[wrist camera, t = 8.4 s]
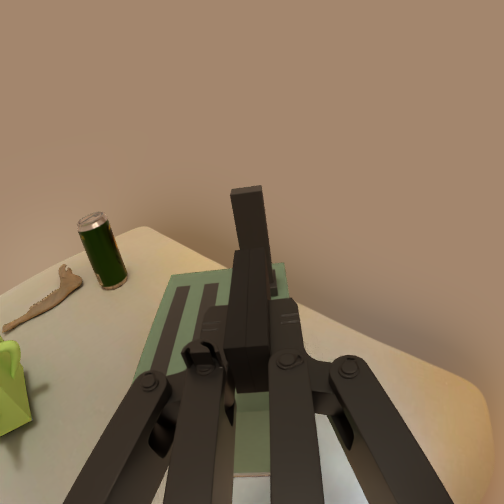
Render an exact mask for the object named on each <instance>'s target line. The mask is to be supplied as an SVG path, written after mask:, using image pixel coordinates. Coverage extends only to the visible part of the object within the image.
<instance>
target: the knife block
mask: <svg viewBox="0 0 504 504" xmlns="http://www.w3.org/2000/svg"><path fill="white" fill-rule="evenodd" d="M232 269H233V268H231V269H222V270H213V271H204V272H195V273H185V274H176V275H171V277H170V280H169V282H168V285H167V288H166V290H165V293H164V295H163V298H162V300H161V303H160V306H159V308H158V311H157V314H156V316H155V319H154V322H153V324H152V327H151V330H150V333H149V335H148V338H147V341H146V344H145V347H144V349H143V352H142V355H141V358H140V361H139V364H138V367H137V370H136V373H135V376H134V379H133V382H134V381H135V379H136V378H137V377H138V376H139V375H140V374H142V373H143V372H145V371H149V370H158V371H160V372H163V374H164V375H165V376H168V375H171V374H175V373H178V372H181V371H183V370H185V369H187V367H186V364H185V362H184V360H183V358H182V356H181V351H182V349H183V347H184V346H185V345H187V344H188V343H189V342H191V341H193V340H197V339H199V337H200V332H201V327H202V322H203V317H204V314H205V312H206V311H207V310H208V308H209V307H210V306H218V305H228V301H229V293H230V285H231V277H232ZM273 269H275V272H276V281H277V290H278V296H271V300H273V299H282V298H289V292H288V285H287V278H286V271H285V265H284V263H275V264H272V270H273ZM133 382H132V384H133ZM235 400H236V404H237V413H236V432H235V452H234V473H233V477H255V476H270V424H269V392H257V393H240V394H237V392H236V388H235Z"/></svg>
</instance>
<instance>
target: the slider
mask: <svg viewBox="0 0 504 504" xmlns="http://www.w3.org/2000/svg"><path fill="white" fill-rule="evenodd" d="M230 197H231V203H232V208H233V214H234V220H235V225H236V231H237V236H238V242H239V247H240V250H244V249H253V248H261V247H265V254H266V261H267V269H268V276H269V284H270V293H271V296H278V290H277V281H276V272H275V269H273V270H272V262H271V254H270V246H269V238H268V230H267V223H266V215H265V207H264V200H263V193H262V186H261V185H259V186H251V187H244V188H237V189H232V190H231V194H230Z"/></svg>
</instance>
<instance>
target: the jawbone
mask: <svg viewBox="0 0 504 504" xmlns="http://www.w3.org/2000/svg"><path fill="white" fill-rule="evenodd" d="M66 266H67V265H65V264H63V265H62V266H61V267H60V268H59V275H60V281H61V283H60V288H59V289H57V290H55V291H54V292H53V291H52V294H51V293H50V295H47V297H45V299H44V298H43V299H42V301H40V302H37V304H33V306H31V307H30V308H29V309H30V310H29V311H28V312H27V313H26V314H25V315H23V316H22V317H20V318H18V319H16V320H14V321H12V322H10V323H8V324H5V325H4V326H3V331H2V333H4V332H6V331H8V330H10V329H14V328H15V327H16V326H17V325H18V324H20V323H22V322H25V321H27V320H29V319H31V318H33V317H35V316H37V315H39V314H41V313H43V312H45V311H47V310H49V309H51V308H53V307H55V306H56V305H58V304H59V303H60V302H61V301H62V300H64V299H65V298H66V296H67V295H68V294H69V293H71V292H72V291H73V290H74V289H76V288H77V287H79V286H80V285H81V284H82V279H81V277H79V276H77V275H74V274H73V273H72V270H71V269H70V268H68V270H67V271H65V267H66Z"/></svg>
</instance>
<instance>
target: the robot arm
mask: <svg viewBox="0 0 504 504" xmlns="http://www.w3.org/2000/svg"><path fill="white" fill-rule="evenodd" d="M181 356H182V358H183V360H184V362H185V364H186V367H187V369H185V370H183V371H181V372H178V373H175V374H171V375H168V376H165V375H164V374H163V372H160V371H158V370H149V371H145V372H143V373H142V374H140V375H139V376H138V377H137V378H136V379H135V381H134V382H133V384H132V385H131V387H130V389H129V390H128V392H127V394H126V395H125V397H124V399H123V400H122V402H121V404H120V405H119V407H118V409H117V410H116V412H115V414H114V415H113V417H112V419H111V420H110V422H109V424H108V425H107V427H106V429H105V430H104V432H103V434H102V435H101V437H100V439H99V441H98V442H97V444H96V446H95V447H94V449H93V451H92V453H91V454H90V456H89V458H88V460H87V461H86V463H85V465H84V467H83V468H82V470H81V472H80V474H79V475H78V477H77V479H76V481H75V482H74V484H73V486H72V488H71V490H70V491H69V493H68V495H67V497H66V499H65V500H64V502H63V504H151V503H152V501H153V498H154V496H155V494H156V492H157V490H158V488H159V485H160V483H161V481H162V479H163V477H164V474H165V472H166V470H167V468H168V466H169V469H168V475H167V481H166V487H165V494H164V500H163V504H232V495H233V473H234V452H235V432H236V413H237V404H236V400H235V388H236V392H237V394H240V393H257V392H269V424H270V490H271V504H324V494H323V484H322V474H321V465H320V456H319V447H318V438H317V430H316V422H315V414H314V413H317V414H323V415H327V417H328V419H329V421H330V423H331V425H332V427H333V429H334V431H335V433H336V436H337V438H338V440H339V442H340V444H341V446H342V448H343V450H344V452H345V454H346V457H347V459H348V461H349V463H350V465H351V467H352V469H353V471H354V473H355V475H356V478H357V480H358V482H359V484H360V486H361V488H362V490H363V492H364V494H365V496H366V499H367V501H368V503H369V504H454V503H453V501H452V499H451V498H450V496H449V494H448V492H447V491H446V489H445V487H444V486H443V484H442V482H441V481H440V479H439V477H438V476H437V474H436V472H435V471H434V469H433V467H432V466H431V464H430V462H429V461H428V459H427V457H426V456H425V454H424V452H423V451H422V449H421V447H420V446H419V444H418V443H417V441H416V439H415V438H414V436H413V435H412V433H411V431H410V430H409V428H408V427H407V425H406V423H405V422H404V420H403V419H402V417H401V415H400V414H399V412H398V411H397V409H396V408H395V406H394V404H393V403H392V401H391V400H390V398H389V397H388V395H387V394H386V392H385V391H384V389H383V387H382V386H381V384H380V383H379V381H378V380H377V378H376V377H375V375H374V374H373V372H372V371H371V369H370V368H369V366H368V365H367V363H366V362H365V361H364V360H363V359H362V358H359V357H357V356H353V355H345V356H341V357H339V358H337V359H335V360H334V361H333V362H332V363H329V362H322V361H318V360H315V359H313V358H311V357H310V356H309V355H308V354H307V353H306V351H305V349H304V344H303V337H302V331H301V324H300V318H299V312H298V306H297V304H296V302H295V301H294V300H293V299H292V298H282V299H273V300H271V293H270V284H269V276H268V269H267V261H266V254H265V247H261V248H253V249H244V250H236V251H235V253H234V261H233V269H232V277H231V285H230V293H229V301H228V305H218V306H210V307H209V308H208V310H207V311H206V312H205V314H204V317H203V322H202V327H201V332H200V337H199V339H197V340H193V341H191V342H189V343H188V344H187V345H185V346H184V347H183V349H182V351H181Z"/></svg>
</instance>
